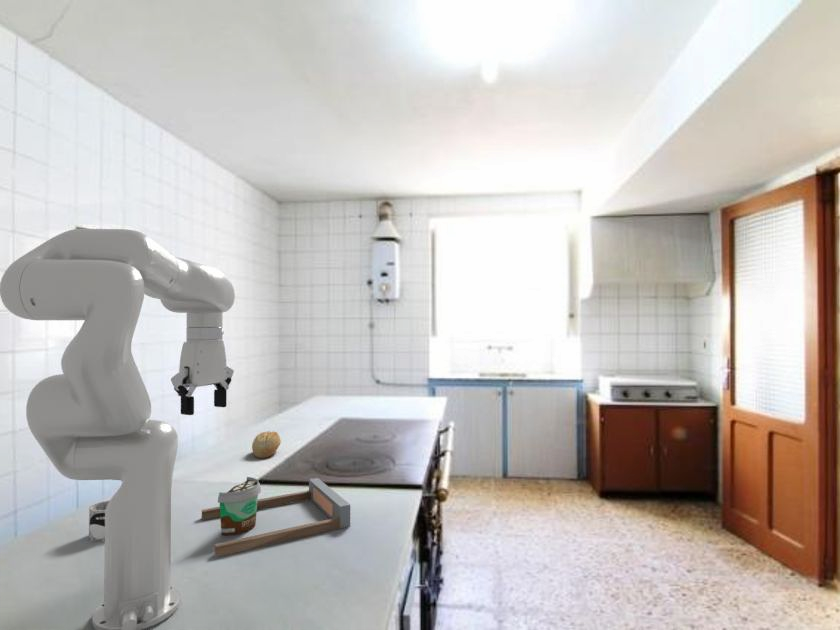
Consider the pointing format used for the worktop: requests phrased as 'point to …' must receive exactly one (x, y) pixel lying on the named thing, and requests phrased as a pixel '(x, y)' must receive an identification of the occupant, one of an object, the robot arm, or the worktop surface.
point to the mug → (97, 521)
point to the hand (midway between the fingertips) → (204, 410)
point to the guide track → (275, 535)
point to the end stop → (329, 502)
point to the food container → (239, 507)
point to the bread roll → (265, 444)
